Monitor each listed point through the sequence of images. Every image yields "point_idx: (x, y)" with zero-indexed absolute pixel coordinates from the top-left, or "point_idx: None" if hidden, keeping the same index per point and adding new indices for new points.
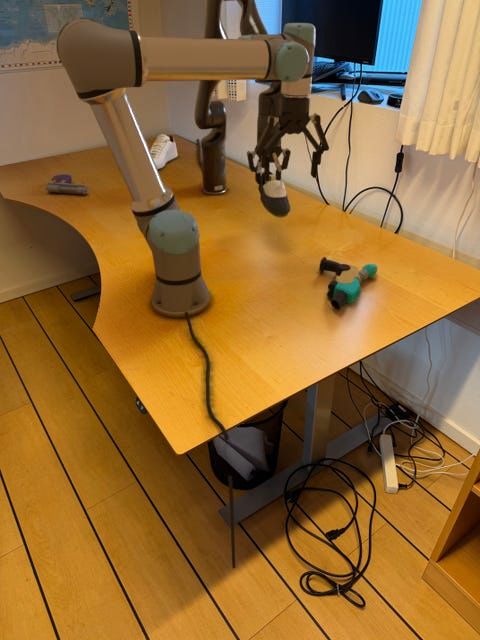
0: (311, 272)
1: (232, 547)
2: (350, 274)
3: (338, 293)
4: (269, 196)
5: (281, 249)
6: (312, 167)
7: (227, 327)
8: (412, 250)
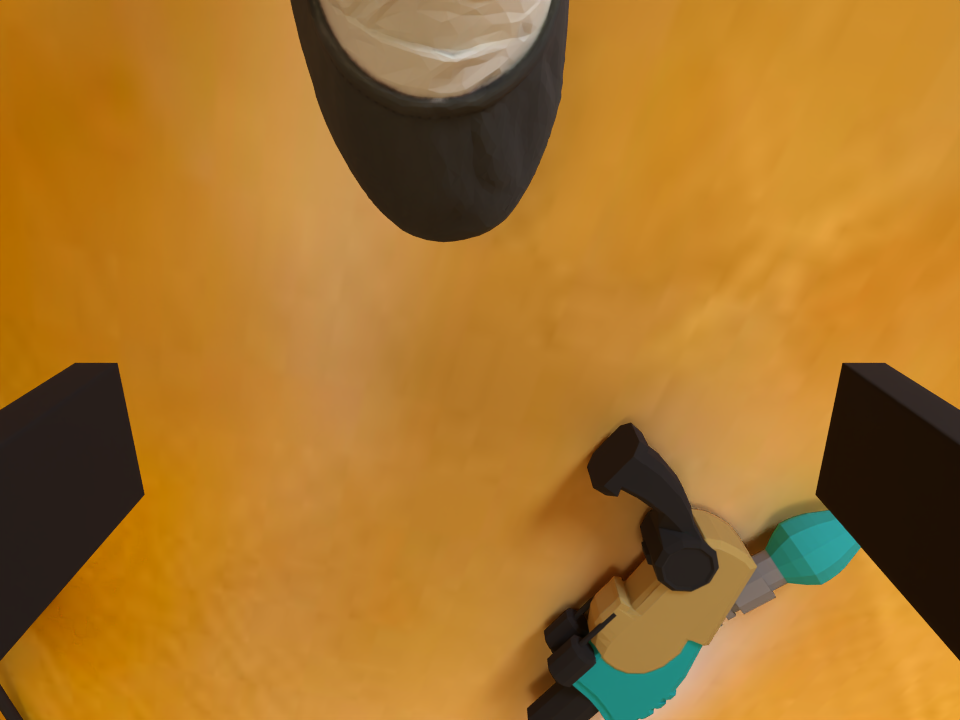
0: (556, 433)
1: None
2: (684, 620)
3: (568, 711)
4: (334, 33)
5: None
6: (910, 484)
7: (139, 696)
8: None
